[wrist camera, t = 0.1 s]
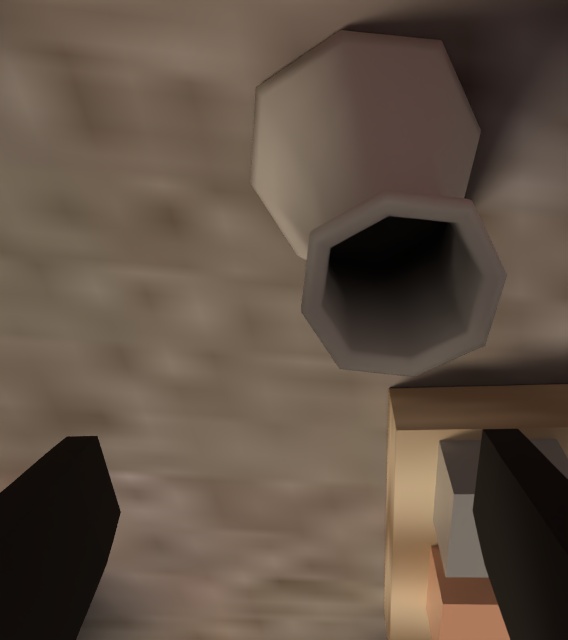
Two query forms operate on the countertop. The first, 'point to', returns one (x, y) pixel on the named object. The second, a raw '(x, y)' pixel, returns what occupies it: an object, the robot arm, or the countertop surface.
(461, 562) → the slate tile
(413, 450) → the birch plate
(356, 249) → the flask
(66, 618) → the robot arm
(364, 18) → the countertop surface
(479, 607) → the terracotta tile
